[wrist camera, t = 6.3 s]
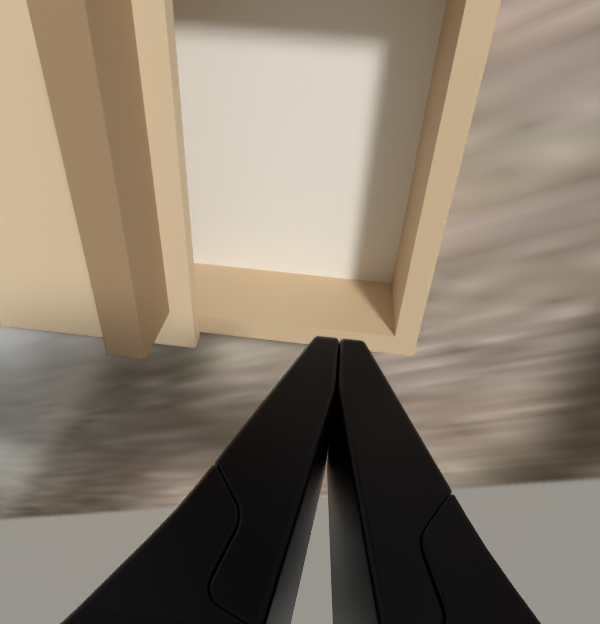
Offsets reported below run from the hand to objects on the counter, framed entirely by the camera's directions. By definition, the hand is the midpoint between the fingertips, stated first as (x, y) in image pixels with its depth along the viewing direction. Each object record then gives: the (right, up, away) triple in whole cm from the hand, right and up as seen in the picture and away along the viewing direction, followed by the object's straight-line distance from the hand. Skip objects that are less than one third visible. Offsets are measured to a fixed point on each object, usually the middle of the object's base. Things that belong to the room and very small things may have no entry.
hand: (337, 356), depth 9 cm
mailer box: (-3, +8, +10) cm, 12 cm away
